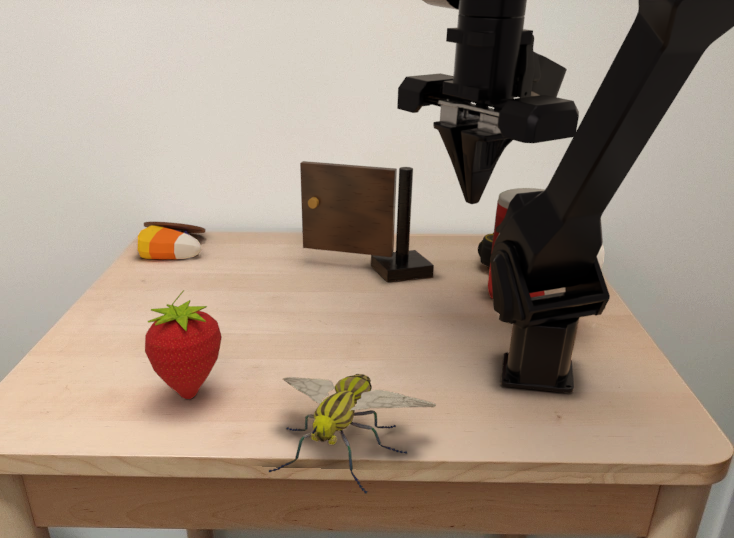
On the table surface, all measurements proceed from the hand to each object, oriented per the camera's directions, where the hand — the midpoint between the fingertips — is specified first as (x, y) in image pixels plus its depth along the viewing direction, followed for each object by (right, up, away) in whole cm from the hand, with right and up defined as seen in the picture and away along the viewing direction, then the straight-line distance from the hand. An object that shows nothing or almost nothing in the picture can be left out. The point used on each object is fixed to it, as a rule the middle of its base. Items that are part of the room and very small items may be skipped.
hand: (472, 202), depth 74 cm
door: (-13, +1, +19) cm, 23 cm away
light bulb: (+10, -12, +5) cm, 16 cm away
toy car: (-36, +7, +26) cm, 45 cm away
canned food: (+7, -6, +13) cm, 16 cm away
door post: (-6, -1, +19) cm, 20 cm away
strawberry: (-26, -21, -8) cm, 34 cm away
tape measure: (+7, 0, +21) cm, 22 cm away
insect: (-12, -25, -14) cm, 31 cm away
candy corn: (-39, +4, +22) cm, 45 cm away
